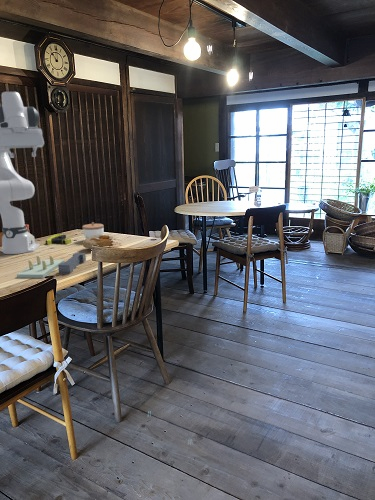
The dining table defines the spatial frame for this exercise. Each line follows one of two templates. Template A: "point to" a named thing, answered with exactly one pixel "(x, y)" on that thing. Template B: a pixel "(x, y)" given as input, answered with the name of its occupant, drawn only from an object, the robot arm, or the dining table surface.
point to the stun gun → (58, 239)
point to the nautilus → (98, 241)
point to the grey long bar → (71, 263)
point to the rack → (40, 268)
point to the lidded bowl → (93, 229)
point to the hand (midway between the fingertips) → (23, 156)
